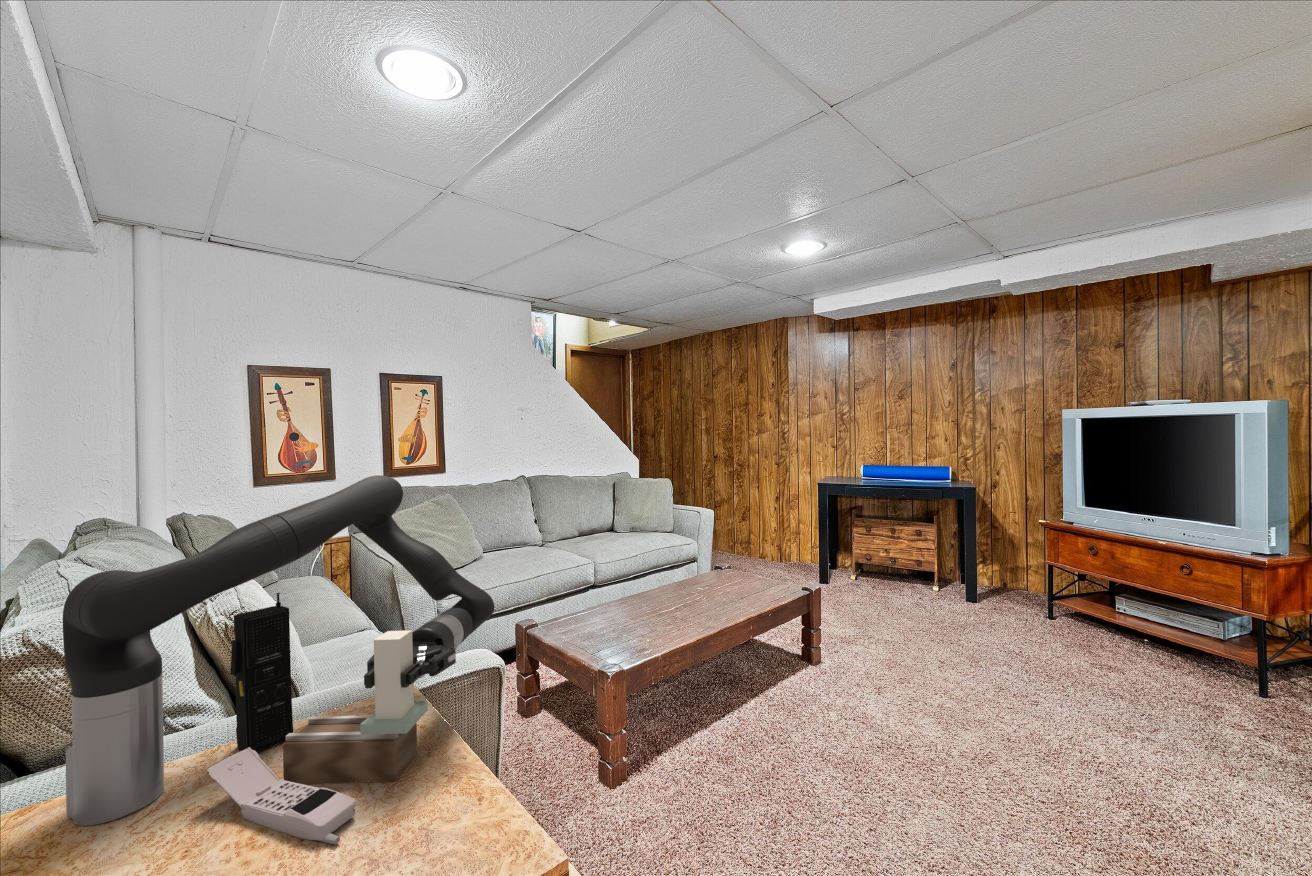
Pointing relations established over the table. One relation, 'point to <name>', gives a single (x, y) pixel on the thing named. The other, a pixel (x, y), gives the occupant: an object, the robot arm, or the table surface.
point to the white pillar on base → (393, 687)
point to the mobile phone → (282, 799)
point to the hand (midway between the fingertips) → (385, 681)
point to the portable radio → (262, 677)
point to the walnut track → (345, 752)
